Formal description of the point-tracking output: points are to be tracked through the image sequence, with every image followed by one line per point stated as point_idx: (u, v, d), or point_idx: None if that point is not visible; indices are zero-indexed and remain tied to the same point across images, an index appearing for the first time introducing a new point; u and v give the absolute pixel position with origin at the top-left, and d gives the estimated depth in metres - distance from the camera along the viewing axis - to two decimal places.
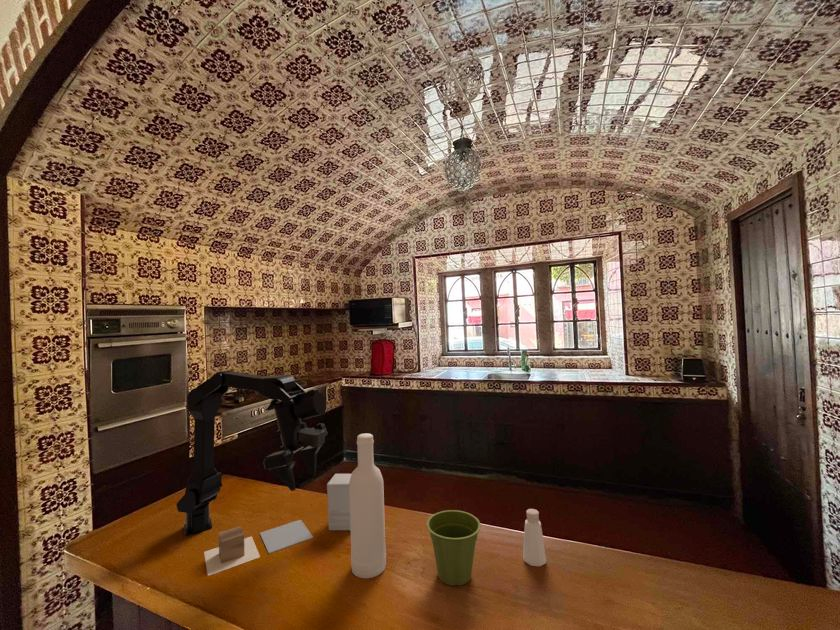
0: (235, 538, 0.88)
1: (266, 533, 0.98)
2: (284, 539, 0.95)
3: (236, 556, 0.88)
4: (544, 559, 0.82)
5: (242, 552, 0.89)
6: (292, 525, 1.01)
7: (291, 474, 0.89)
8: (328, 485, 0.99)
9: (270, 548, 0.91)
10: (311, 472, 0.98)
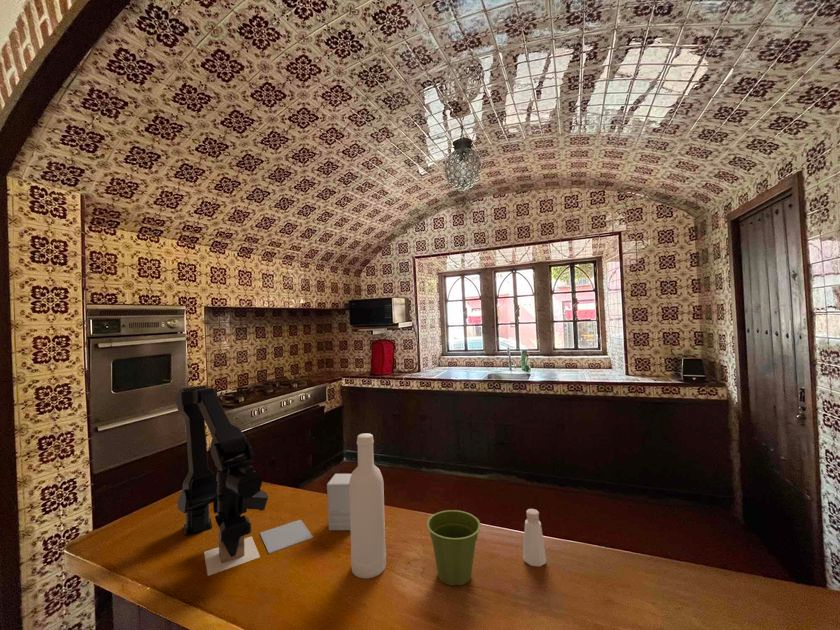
0: None
1: (266, 533, 0.98)
2: (284, 539, 0.95)
3: (236, 556, 0.88)
4: (544, 559, 0.82)
5: (242, 552, 0.89)
6: (292, 525, 1.01)
7: None
8: (328, 485, 0.99)
9: (270, 548, 0.91)
10: None
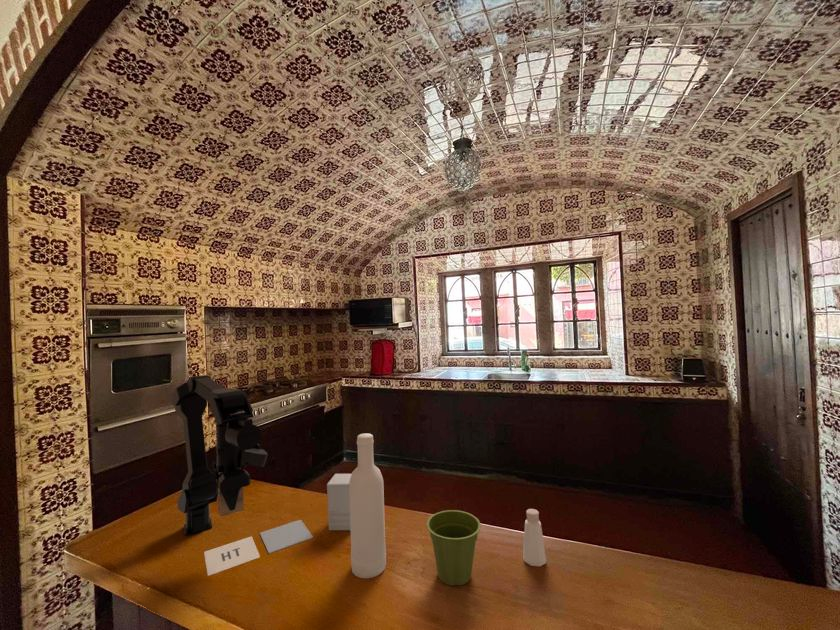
0: None
1: (266, 533, 0.98)
2: (284, 539, 0.95)
3: (235, 510, 0.88)
4: (544, 559, 0.82)
5: (241, 507, 0.89)
6: (292, 525, 1.01)
7: (238, 492, 0.88)
8: (328, 485, 0.99)
9: (270, 548, 0.91)
10: None
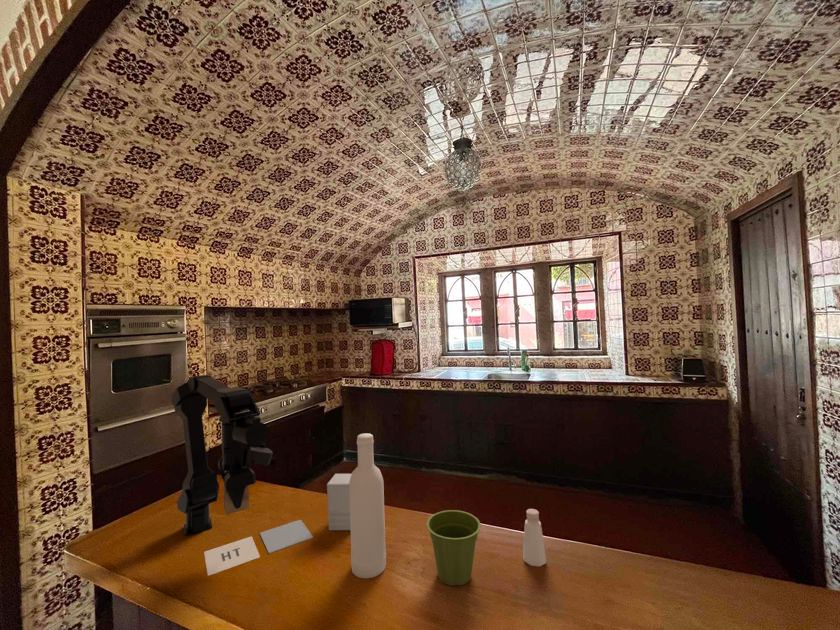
0: None
1: (266, 533, 0.98)
2: (284, 539, 0.95)
3: (241, 508, 0.89)
4: (544, 559, 0.82)
5: (247, 505, 0.90)
6: (292, 525, 1.01)
7: None
8: (328, 485, 0.99)
9: (270, 548, 0.91)
10: None
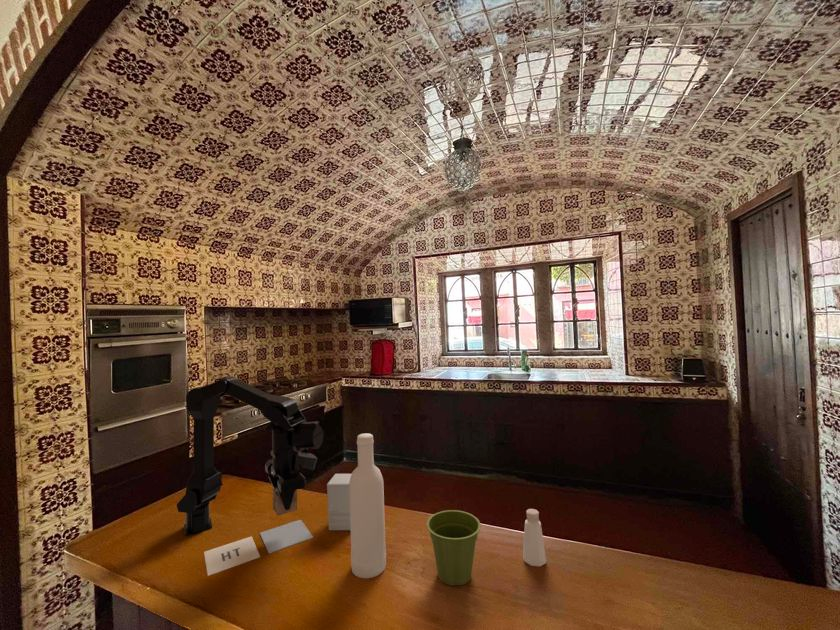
0: None
1: (266, 533, 0.98)
2: (284, 539, 0.95)
3: (290, 510, 0.96)
4: (544, 559, 0.82)
5: (295, 507, 0.96)
6: (292, 525, 1.01)
7: None
8: (328, 485, 0.99)
9: (270, 548, 0.91)
10: None
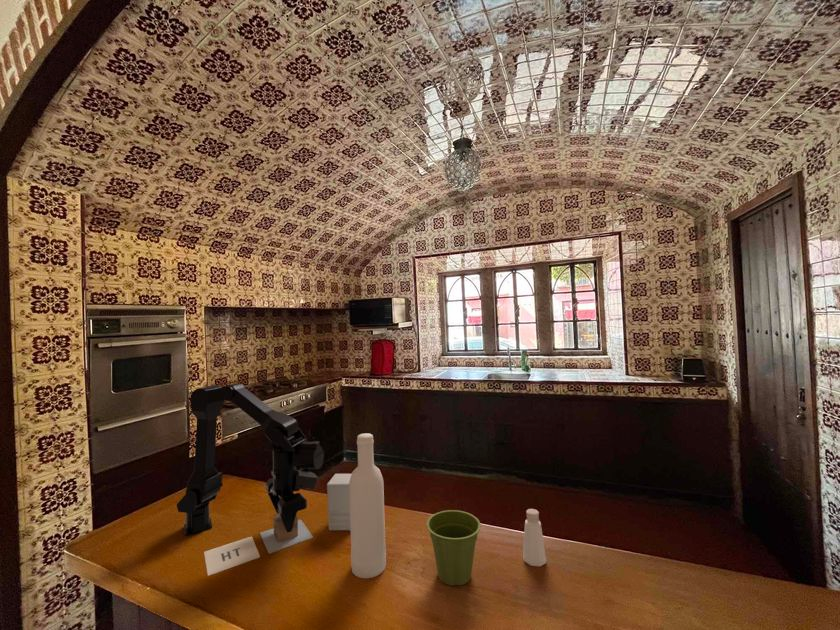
0: None
1: (266, 533, 0.98)
2: None
3: (291, 536, 0.95)
4: (544, 559, 0.82)
5: (296, 533, 0.96)
6: None
7: None
8: (328, 485, 0.99)
9: (270, 548, 0.91)
10: None
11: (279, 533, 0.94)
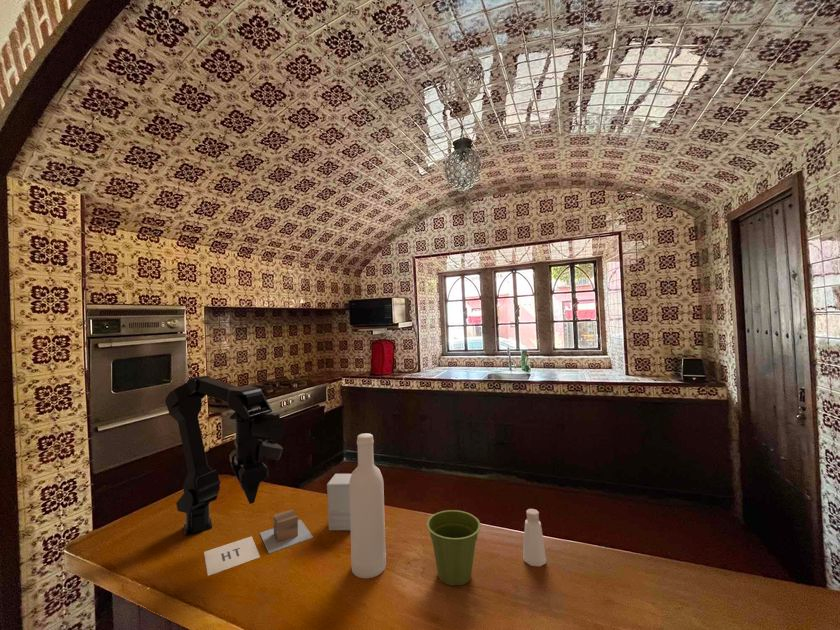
0: (290, 519, 0.95)
1: (266, 533, 0.98)
2: None
3: (291, 536, 0.95)
4: (544, 559, 0.82)
5: (296, 533, 0.96)
6: None
7: None
8: (328, 485, 0.99)
9: (270, 548, 0.91)
10: None
11: (279, 533, 0.94)
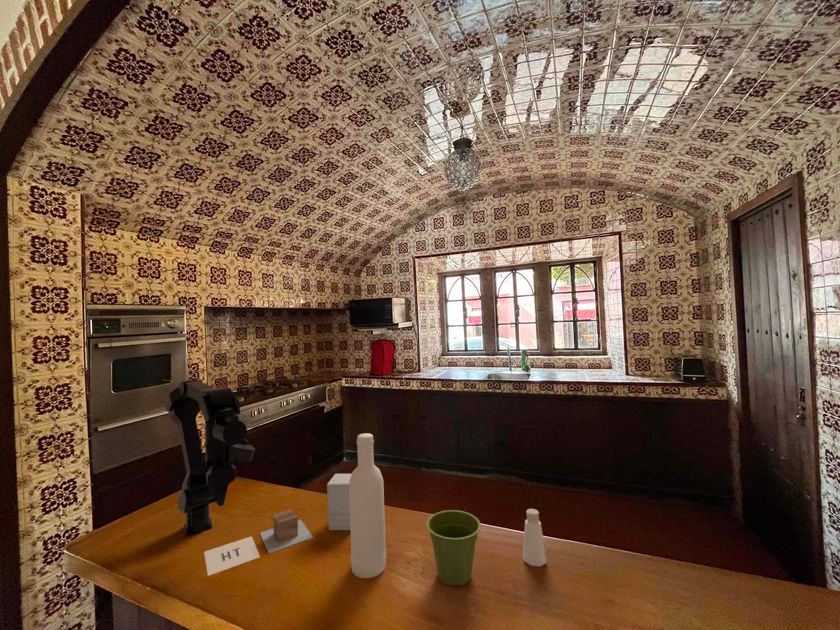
0: (290, 519, 0.95)
1: (266, 533, 0.98)
2: None
3: (291, 536, 0.95)
4: (544, 559, 0.82)
5: (296, 533, 0.96)
6: None
7: None
8: (328, 485, 0.99)
9: (270, 548, 0.91)
10: None
11: (279, 533, 0.94)
